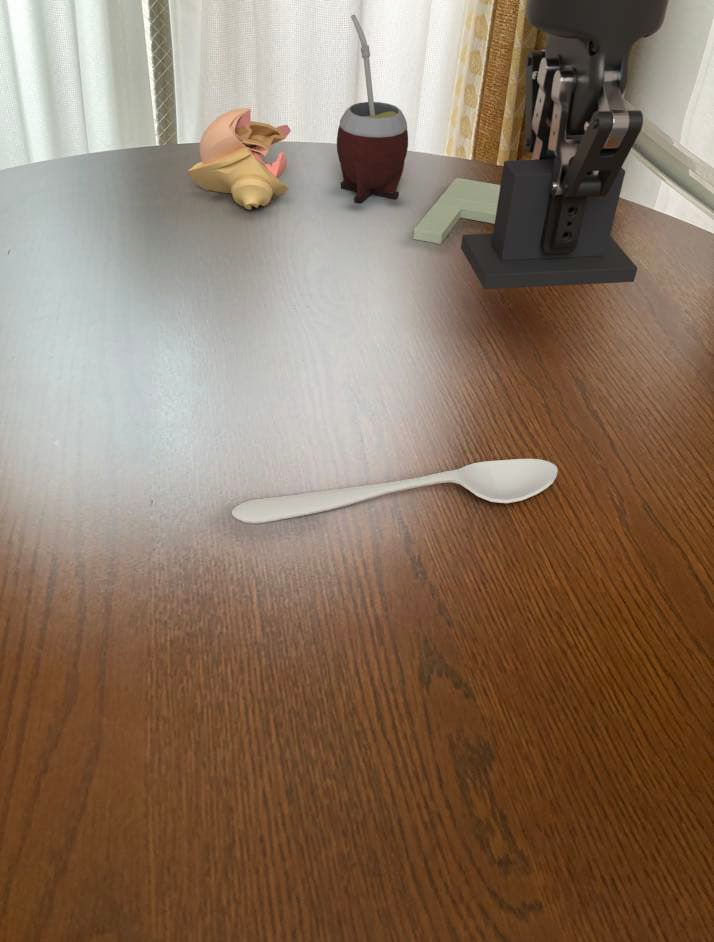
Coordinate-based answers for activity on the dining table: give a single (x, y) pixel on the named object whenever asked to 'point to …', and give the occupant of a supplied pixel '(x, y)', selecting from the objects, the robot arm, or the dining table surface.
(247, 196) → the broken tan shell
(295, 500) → the spoon
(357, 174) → the mate gourd
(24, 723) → the dining table surface
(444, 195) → the sage stepped arch block
